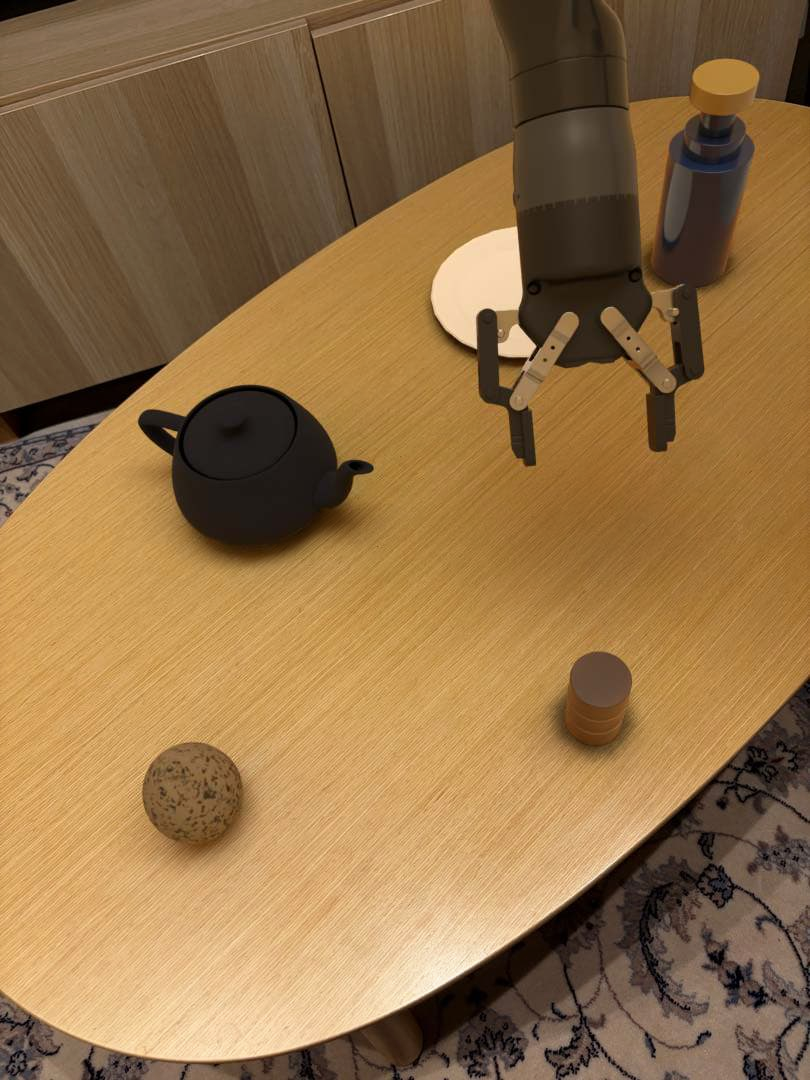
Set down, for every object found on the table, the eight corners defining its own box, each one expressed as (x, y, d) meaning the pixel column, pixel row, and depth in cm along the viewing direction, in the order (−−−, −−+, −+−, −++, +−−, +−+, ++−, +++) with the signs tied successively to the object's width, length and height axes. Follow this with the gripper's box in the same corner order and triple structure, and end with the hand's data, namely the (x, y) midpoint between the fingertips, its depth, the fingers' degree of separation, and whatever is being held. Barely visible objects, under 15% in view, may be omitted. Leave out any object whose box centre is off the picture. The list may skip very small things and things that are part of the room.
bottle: (739, 254, 96) (788, 65, 78) (703, 297, 93) (746, 111, 75) (674, 230, 99) (707, 43, 81) (637, 271, 96) (663, 86, 78)
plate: (546, 212, 103) (546, 200, 102) (662, 309, 92) (665, 297, 91) (397, 287, 99) (395, 275, 97) (501, 397, 88) (500, 386, 87)
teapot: (125, 525, 85) (71, 447, 75) (204, 409, 92) (164, 323, 82) (353, 600, 77) (327, 525, 67) (420, 468, 84) (406, 382, 74)
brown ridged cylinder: (632, 713, 69) (644, 672, 62) (602, 757, 67) (611, 720, 61) (584, 682, 71) (591, 639, 64) (553, 724, 69) (557, 685, 63)
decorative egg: (265, 834, 67) (228, 798, 59) (176, 869, 66) (127, 837, 58) (243, 751, 71) (206, 705, 63) (159, 783, 70) (111, 741, 62)
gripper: (464, 207, 51) (491, 479, 54) (710, 175, 50) (720, 453, 54) (460, 223, 58) (483, 461, 62) (674, 195, 57) (685, 438, 61)
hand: (593, 457), depth 58 cm, fingers open, 8 cm apart
